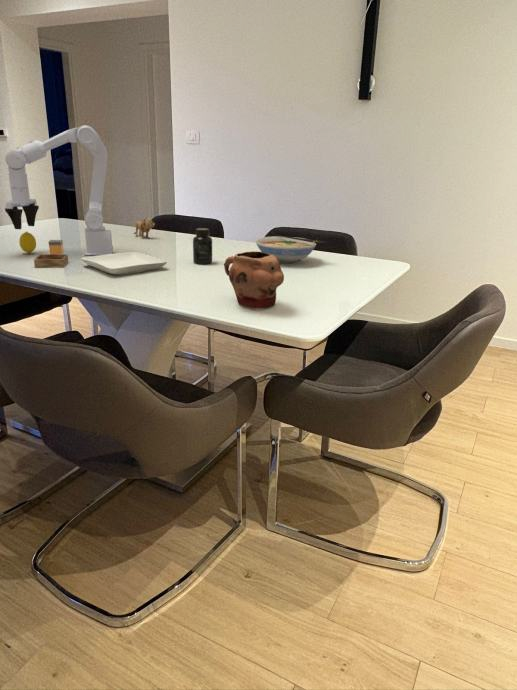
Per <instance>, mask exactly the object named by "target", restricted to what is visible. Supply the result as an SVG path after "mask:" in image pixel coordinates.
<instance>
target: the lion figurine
mask: <svg viewBox="0 0 517 690" xmlns="http://www.w3.org/2000/svg"><path fill="white" fill-rule="evenodd" d="M155 224H156V223H154V222H153V220H152V219H151V218H149V217H147V218H144V219H143V220H142V221H140V220H138V221H136V223H135V232H134V233H133V234H134V235H135V237H137V238H138V237H139V236H141V239H142V240H145V238H146V239H150V237H149V233H150V231H151V230H152V228H154V227H155ZM144 234H145V235H144Z"/></svg>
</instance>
